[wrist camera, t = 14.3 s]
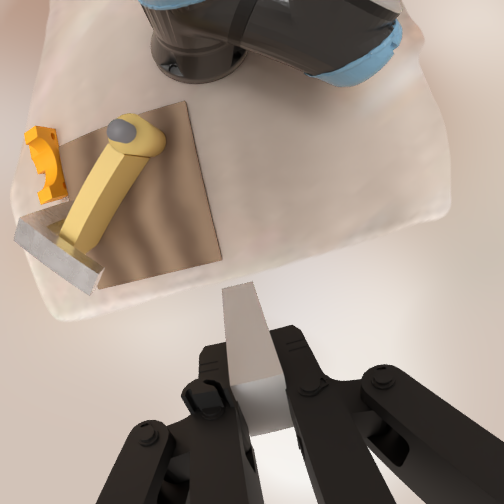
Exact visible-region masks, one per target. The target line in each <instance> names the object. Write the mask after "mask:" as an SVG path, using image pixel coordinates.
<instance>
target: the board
mask: <svg viewBox="0 0 504 504" xmlns="http://www.w3.org/2000/svg"><path fill="white" fill-rule="evenodd" d="M138 116H140V117H141V118H143V119H144V120H146V121H147V122H149V123H150V124H152V125H153V126H155V127H156V128H158V129H159V130H161V131H162V132H163V133H164V135H165V137H166V146H165V148H164V150H163V151H162V152H161V153H160V154H159V155H157V156H155V157H149V158H150V159H149V161H148V162H147V163H146V165H145V166H144V168H143V169H142V171H141V172H140V174H139V175H138V177H137V178H136V180H135V181H134V183H133V184H132V186H131V188H130V189H129V191H128V192H127V194H126V196H125V197H124V199H123V200H122V202H121V204H120V205H119V207H118V209H117V210H116V212H115V214H114V216H113V217H112V219H111V221H110V223H109V224H108V226H107V228H106V230H105V231H104V233H103V235H102V237H101V239H100V241H99V243H98V244H97V245H96V246H95V247H94V248H92V249H91V250H90V251H88V252H87V253H86V256H88V257H89V258H91V259H93V260H94V261H96V262H97V263H99V264H100V265H102V266H103V267H105V269H104V271H103V273H102V275H101V278H100V280H99V282H98V285H97V287H98V289H103V288H107V287H112V286H116V285H120V284H124V283H128V282H133V281H137V280H141V279H145V278H149V277H154V276H158V275H162V274H166V273H170V272H174V271H179V270H183V269H187V268H191V267H195V266H200V265H204V264H208V263H212V262H216V261H220V260H222V257H221V253H220V249H219V245H218V241H217V237H216V233H215V229H214V225H213V221H212V217H211V213H210V209H209V204H208V200H207V196H206V192H205V188H204V183H203V179H202V175H201V170H200V166H199V161H198V157H197V153H196V148H195V144H194V139H193V134H192V130H191V125H190V120H189V116H188V111H187V106H186V102H185V101H183V102H179V103H175V104H172V105H168V106H164V107H161V108H158V109H154V110H151V111H148V112H145V113H142V114H139V115H138ZM107 127H108V126H105V127H103V128H100V129H98V130H96V131H93V132H91V133H88V134H86V135H84V136H81V137H79V138H77V139H75V140H73V141H70V142H68V143H66V144H64V145H62V146H60V147H58V148H59V154H60V159H61V165H62V170H63V175H64V179H65V184H66V188H67V192H68V196H69V200H70V201H72V200H75V199H76V197H77V195H78V194H79V192H80V190H81V188H82V186H83V184H84V182H85V181H86V179H87V177H88V175H89V174H90V172H91V170H92V168H93V167H94V165H95V163H96V162H97V160H98V158H99V157H100V155H101V153H102V152H103V150H104V149H105V147H106V146H107V144H108V143H109V140H108V136H107ZM109 144H110V143H109Z"/></svg>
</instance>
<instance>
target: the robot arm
mask: <svg viewBox="0 0 504 504" xmlns="http://www.w3.org/2000/svg"><path fill="white" fill-rule="evenodd" d="M138 1H139V2H140V4H141V6H142V8H143V10H144V12H145V14H146V16H147V18H148V20H149V22H150V24H151V26H152V28H153V30H154V31H153V35H152V38H151V52H152V56H153V58H154V60H155V62H156V64H157V66H158V67H159V68H160V70H161V71H162V72H163V73H164V74H166V75H167V76H169V77H170V78H172V79H174V80H177V81H180V82H184V83H191V84H200V83H208V82H212V81H216V80H218V79H221V78H223V77H225V76H227V75H228V74H230V73H231V72H233V71H234V70H235V69H236V68H237V67H238V66H239V65H240V64H241V63H242V61H243V60H244V58H245V56H246V54H247V51H248V50H249V51H252V52H255V53H258V54H261V55H263V56H266V57H269V58H271V59H274V60H276V61H279V62H281V63H284V64H286V65H289V66H291V67H293V68H296V69H298V70H300V71H302V72H304V74H305V75H307V76H309V77H313V78H318V79H320V80H322V81H325V82H327V83H329V84H331V85H334V86H337V87H351V86H355V85H358V84H360V83H362V82H364V81H366V80H367V79H369V78H370V77H372V76H373V75H374V74H376V73H377V72H378V71H379V70H380V69H381V68H382V67H383V66H384V65H385V64H386V63H387V62H388V61H389V60H390V59H391V57H392V56H393V54H394V52H393V50H394V49H395V48H397V47H398V46H399V44H400V42H401V39H402V27H401V25H400V23H399V22H398V20H397V19H396V18H397V17H398V16H399V14H400V13H401V12H402V6H401V2H400V0H138ZM222 296H223V310H224V323H225V335H226V342H223V343H219V344H214V345H209V346H205V347H204V349H203V350H202V352H201V353H200V355H199V376H198V377H199V378H198V379H195V380H194V381H192V382H191V383H189V384H188V385H187V386H186V387H185V388H184V389H183V391H182V394H181V398H182V399H183V401H184V403H185V405H186V406H187V408H188V410H189V412H190V413H191V415H189V416H188V417H187V418H185V419H183V420H181V421H179V422H176V423H174V424H171V425H168V426H166V425H164V424H163V423H162V422H159V421H156V420H147V421H144V422H141V423H139V424H138V425H136V426H135V427H134V428H133V429H132V431H131V432H130V434H129V435H128V437H127V439H126V441H125V444H124V446H123V448H122V450H121V452H120V454H119V456H118V458H117V460H116V462H115V464H114V466H113V468H112V470H111V472H110V474H109V476H108V479H107V481H106V483H105V485H104V487H103V489H102V491H101V493H100V496H99V498H98V500H97V502H96V504H264V500H263V495H262V490H261V485H260V480H259V475H258V469H257V464H256V459H255V453H254V449H253V447H252V445H251V442H250V436H251V437H252V436H256V435H261V434H266V433H270V432H274V431H278V430H282V429H286V428H290V427H294V428H295V431H296V436H297V441H298V446H299V449H300V450H301V453H302V456H303V459H304V462H305V465H306V468H307V472H308V475H309V478H310V481H311V484H312V487H313V490H314V493H315V496H316V499H317V502H318V504H396V502H395V500H394V498H393V496H392V494H391V492H390V490H389V488H388V486H387V484H386V482H385V480H384V479H383V476H382V475H381V473H380V471H379V469H378V467H377V465H376V463H375V461H374V459H373V457H372V455H371V453H370V451H369V449H368V448H370V450H371V451H372V452H373V453H374V454H375V455H376V456H377V457H378V458H379V459H380V460H381V461H382V462H383V463H384V464H385V465H386V466H387V467H388V468H389V469H390V470H391V471H392V472H393V473H394V474H395V475H396V476H397V477H399V479H400V480H402V481H403V482H404V483H405V484H406V485H407V486H408V487H409V488H410V489H411V490H412V491H413V492H414V493H415V494H416V495H417V496H418V497H419V498H421V499H422V500H423V501H424V502H425V503H426V504H504V442H503V441H501V440H500V439H499V438H497V437H496V436H494V435H493V434H491V433H490V432H488V431H487V430H485V429H484V428H483V427H481V426H480V425H478V424H477V423H476V422H474V421H473V420H471V419H470V418H468V417H467V416H466V415H464V414H463V413H461V412H460V411H458V410H457V409H455V408H454V407H453V406H451V405H450V404H449V403H447V402H446V401H444V400H443V399H441V398H440V397H439V396H437V395H435V394H434V393H433V392H432V391H430V390H429V389H427V388H426V387H424V386H423V385H421V384H420V383H419V382H417V381H416V380H415V379H413V378H412V377H410V376H409V375H408V374H406V373H405V372H403V371H402V370H400V369H399V368H397V367H395V366H393V365H385V364H384V365H377V366H374V367H372V368H370V369H368V370H367V371H366V372H365V373H364V374H363V376H362V379H359V380H350V381H338V380H334V379H331V378H330V377H328V376H327V375H325V374H324V373H323V372H322V370H321V368H320V366H319V364H318V362H317V360H316V359H315V356H314V355H313V353H312V351H311V349H310V347H309V345H308V343H307V341H306V340H305V337H304V335H303V333H302V331H301V330H300V329H298V328H296V327H295V326H293V325H289V326H286V327H282V328H278V329H274V330H270V331H269V330H268V326H267V324H266V320H265V317H264V314H263V312H262V308H261V305H260V303H259V299H258V296H257V293H256V290H255V287H254V284H253V282H249V283H245V284H240V285H236V286H232V287H227V288H224V289H222ZM249 434H250V436H249Z"/></svg>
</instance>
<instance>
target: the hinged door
mask: <svg viewBox="0 0 504 504" xmlns="http://www.w3.org/2000/svg"><path fill="white" fill-rule="evenodd" d="M107 136H108V140H109V143H110V144H109V143H108V144H107V146H106V147H105V149H104V150H103V152H102V153H101V155H100V157H99V158H98V160H97V162H96V163H95V165H94V167H93V168H92V170H91V172H90V174H89V175H88V177H87V179H86V181H85V182H84V184H83V186H82V188H81V190H80V192H79V194H78V195H77V197H76V199H75V201H74V203H73V205H72V207H71V209H70V211H69V213H68V216H67V218H66V220H65V222H64V224H63V226H62V229H61V231H60V233H59V235H58V236H59V237H60V238H62V239H63V240H65V241H66V242H67V243H69V244H70V245H72V246H73V247H75V248H76V249H78V250H79V251H81V252H82V253H84V254H86V253H87V252H88V251H90V250H91V249H92V248H94V247H95V246H96V245H97V244H98V243H99V241H100V239H101V237H102V235H103V233H104V231H105V230H106V228H107V226H108V224H109V223H110V221H111V219H112V217H113V216H114V214H115V212H116V210H117V209H118V207H119V205H120V204H121V202H122V200H123V199H124V197H125V196H126V194H127V192H128V191H129V189H130V188H131V186H132V184H133V183H134V181H135V180H136V178H137V177H138V175H139V174H140V172H141V171H142V169H143V168H144V166H145V165H146V163H147V162H148V161H149V159H150V158H149V157H155V156H157V155H159V154H160V153H161V152H162V151H163V150H164V148H165V146H166V137H165V135H164V133H163V132H162V131H161V130H159V129H158V128H156V127H155V126H153V125H152V124H150V123H149V122H147V121H146V120H144V119H143V118H141V117H140V116H138V115H136V114H131V113H129V114H124V115H121V116H120V117H118V118H117V119H115V120H113V121H111V122H110V123H109V125H108V127H107Z"/></svg>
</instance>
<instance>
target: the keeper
mask: <svg viewBox="0 0 504 504" xmlns="http://www.w3.org/2000/svg"><path fill="white" fill-rule="evenodd" d="M74 201H75V200H72V201H68V202H65V203H62V204H59V205H55V206H52V207H49V208H46V209H43V210H40V211H37V212H34V213H31V214H28V215H25V216H22V217H20V218H19V221H18V225H17V229H16V232H15V236H14V241H15V242H17V243H18V244H19V245H20V246H21V247H23V248H24V249H25V250H26V251H28V252H29V253H30V254H31V255H33V256H34V257H35V258H36V259H38V260H39V261H40V262H42V263H43V264H44V265H46V266H47V267H48V268H50V269H51V270H52V271H54V272H55V273H57V274H58V275H59V276H61V277H62V278H64V279H65V280H67V281H68V282H69V283H71V284H72V285H74V286H75V287H77V288H78V289H80V290H81V291H83V292H84V293H86V294H87V295H89V296H90V295H91V294H92V293H93V291H94V290H95V289H96V287H97V285H98V282H99V280H100V278H101V275H102V273H103V271H104V269H105V267H103V266H102V265H100V264H99V263H97V262H96V261H94V260H93V259H91V258H89V257H88V256H86V255H85V254H84V253H82V252H81V251H79V250H78V249H76V248H75V247H73V246H72V245H70V244H69V243H67V242H66V241H65V240H63V239H62V238H60V237H59V236H58V235H59V233H60V231H61V229H62V226H63V224H64V222H65V220H66V218H67V216H68V213H69V211H70V209H71V207H72V205H73V203H74Z"/></svg>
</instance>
